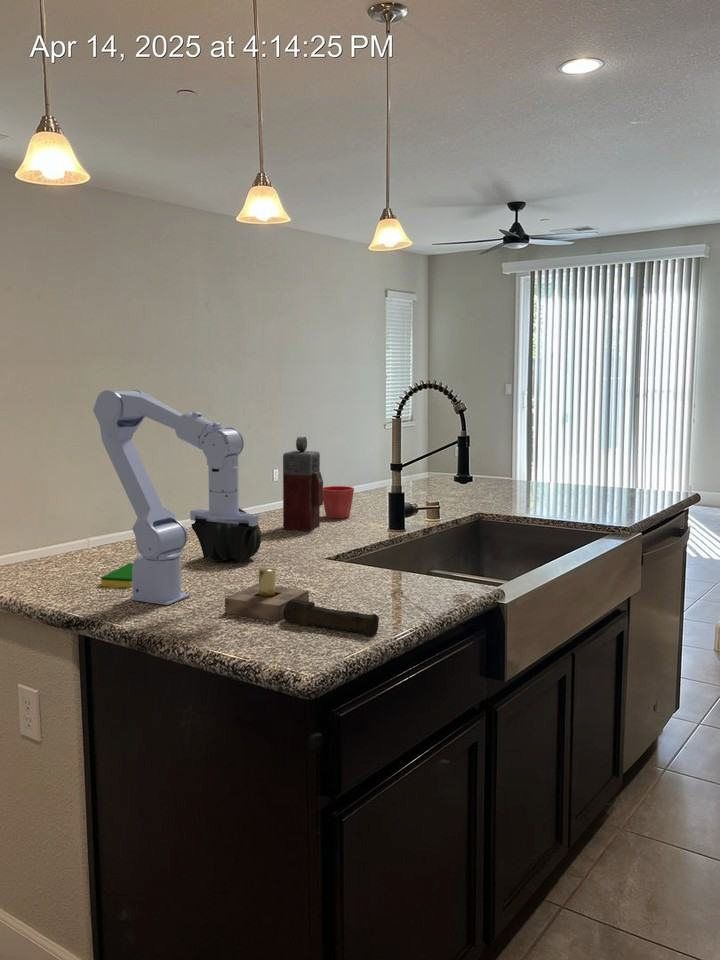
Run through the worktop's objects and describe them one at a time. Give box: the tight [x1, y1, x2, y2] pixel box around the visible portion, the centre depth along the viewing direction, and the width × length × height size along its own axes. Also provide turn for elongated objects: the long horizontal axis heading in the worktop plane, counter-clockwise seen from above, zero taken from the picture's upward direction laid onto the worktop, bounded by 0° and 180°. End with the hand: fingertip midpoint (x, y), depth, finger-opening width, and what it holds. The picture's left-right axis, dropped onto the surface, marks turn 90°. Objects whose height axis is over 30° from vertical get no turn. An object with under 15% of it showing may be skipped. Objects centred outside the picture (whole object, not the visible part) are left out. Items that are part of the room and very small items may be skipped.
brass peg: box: [258, 567, 276, 598], centre depth 156 cm, size 3×3×8 cm
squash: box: [209, 507, 262, 563], centre depth 200 cm, size 14×15×15 cm
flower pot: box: [323, 485, 355, 519], centre depth 263 cm, size 11×11×10 cm
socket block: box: [224, 583, 310, 622], centre depth 156 cm, size 12×12×3 cm
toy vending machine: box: [282, 436, 324, 532], centre depth 241 cm, size 9×11×28 cm
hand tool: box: [283, 599, 380, 638], centre depth 145 cm, size 19×4×5 cm, turn 63°
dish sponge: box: [100, 563, 133, 589], centre depth 179 cm, size 7×14×2 cm, turn 171°
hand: (224, 559), depth 156 cm, fingers open, 7 cm apart
